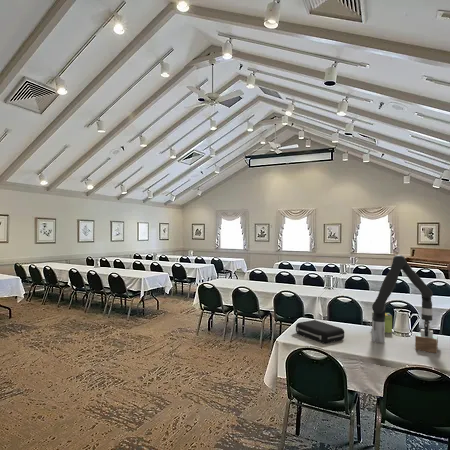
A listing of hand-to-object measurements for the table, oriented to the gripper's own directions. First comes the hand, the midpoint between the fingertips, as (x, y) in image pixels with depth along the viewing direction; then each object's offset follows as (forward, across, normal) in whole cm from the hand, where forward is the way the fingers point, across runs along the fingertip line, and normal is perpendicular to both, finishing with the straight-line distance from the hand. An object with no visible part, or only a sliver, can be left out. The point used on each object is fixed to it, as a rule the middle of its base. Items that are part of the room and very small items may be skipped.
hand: (426, 335), depth 277 cm
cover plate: (+2, 0, 0) cm, 2 cm away
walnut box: (+10, -1, 0) cm, 10 cm away
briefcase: (+11, -18, +78) cm, 81 cm away
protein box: (+10, +31, +38) cm, 50 cm away
